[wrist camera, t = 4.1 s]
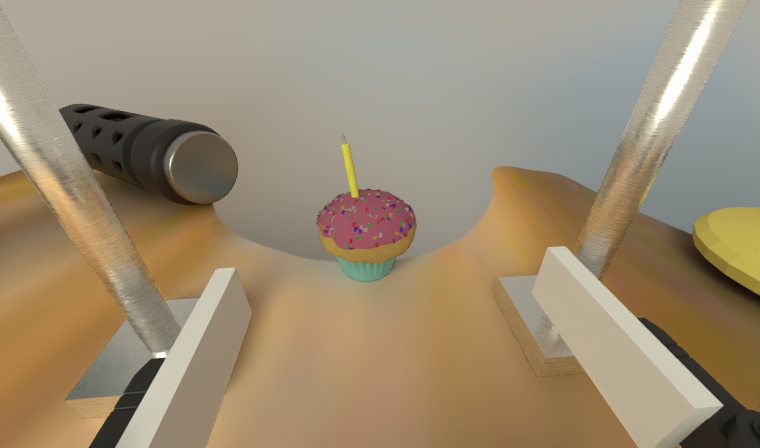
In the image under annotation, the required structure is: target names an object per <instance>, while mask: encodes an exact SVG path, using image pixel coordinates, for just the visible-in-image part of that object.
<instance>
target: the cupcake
mask: <svg viewBox="0 0 760 448" xmlns="http://www.w3.org/2000/svg"><path fill="white" fill-rule="evenodd" d="M341 136H342V141H343V144H341V147H342V152H343V157H344V162H345V167H346V172H347V177H348V182H349V186H350V192H348V193H345V194H340V195H338V196H337V197H336V198H332V199H334V200H332V202H329V203H327V205H325V208H323V210H322V212H321V211H320V212H319V215H318V218H317V219H316V220H317V222H316V224H319V227H318V234H319V240H320V242H321V243H322V245H323V247H324V248H325V250H326V251H328V252H329V253H331V254H333V255H335V257H336V258H337V259H338V261H339V263H340V265H341V267H342V269H343V271H344V272H345V274H346V275H348V276H349V277H351V278H353V279H355V280H359V281H373V280H377V279H380V278H382V277H384V276H386V275H387V274H388V273H389V272H390V271H391V269H392V267H393V264H394V261H395V259H396V257H397V256H398V255H401V254H403V253H404V252H405V251H406V250H407V249H408V248H409V247H410V245H411V243H412V241H413V239H414V235H415V230H416V218H415V215H414V212H413V210H412V208H411V207H410V205H409V206H408V205H407V203H404V202H403V200H400V199H399V198H397V197H396V196H394V195H392V194H390V193H389V192H383V191H381V190H371V189H367V190H358V186H357V182H356V177H355V171H354V165H353V160H352V156H351V150H350V145H349V143H346V141H345V138H344V134H343V133H341Z"/></svg>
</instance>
